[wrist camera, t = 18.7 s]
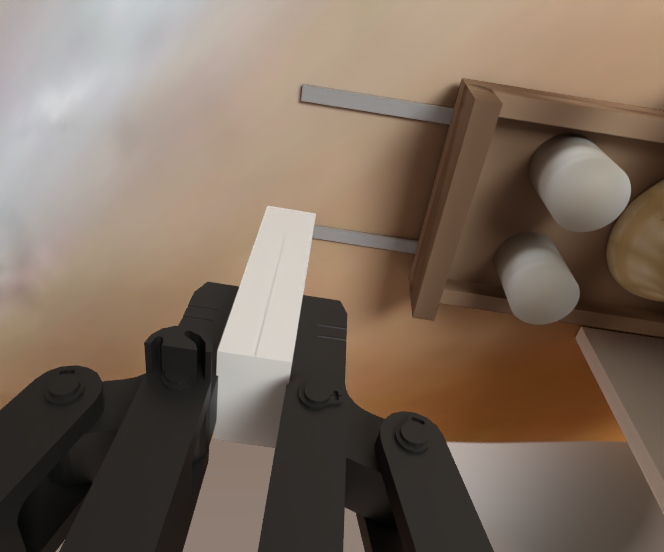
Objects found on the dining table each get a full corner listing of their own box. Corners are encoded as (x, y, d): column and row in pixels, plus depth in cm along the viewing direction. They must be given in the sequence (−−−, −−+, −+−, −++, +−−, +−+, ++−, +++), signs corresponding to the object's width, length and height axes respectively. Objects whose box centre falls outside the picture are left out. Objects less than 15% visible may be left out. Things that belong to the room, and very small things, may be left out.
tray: (408, 277, 32) (413, 328, 28) (462, 78, 25) (479, 105, 21) (722, 326, 32) (773, 383, 28) (856, 141, 26) (950, 180, 21)
